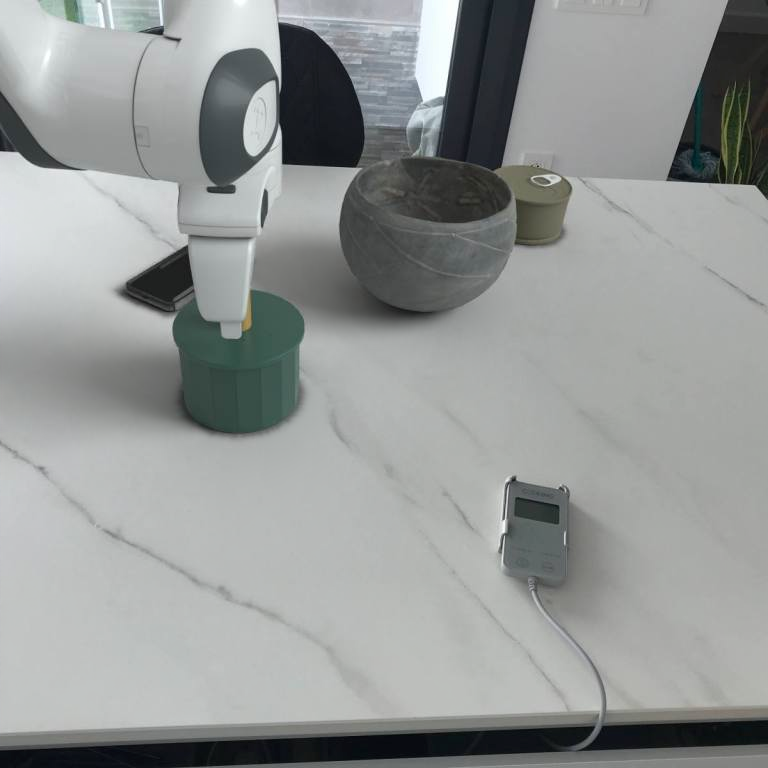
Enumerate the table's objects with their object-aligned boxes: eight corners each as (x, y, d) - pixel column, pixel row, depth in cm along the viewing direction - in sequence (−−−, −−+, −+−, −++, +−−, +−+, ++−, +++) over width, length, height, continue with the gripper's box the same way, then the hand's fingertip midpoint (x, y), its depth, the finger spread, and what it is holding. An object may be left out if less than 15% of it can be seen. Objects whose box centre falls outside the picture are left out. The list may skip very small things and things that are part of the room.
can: (465, 216, 117) (472, 173, 112) (525, 200, 122) (534, 159, 118) (517, 253, 109) (527, 208, 105) (578, 234, 115) (590, 192, 111)
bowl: (528, 289, 102) (552, 183, 93) (446, 365, 88) (465, 250, 79) (396, 236, 111) (406, 134, 101) (303, 298, 97) (304, 187, 87)
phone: (249, 253, 101) (171, 305, 91) (249, 260, 102) (172, 313, 92) (202, 235, 104) (120, 284, 94) (202, 242, 105) (122, 291, 94)
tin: (285, 440, 77) (285, 374, 72) (169, 424, 78) (160, 358, 72) (307, 367, 86) (308, 304, 81) (203, 354, 87) (197, 290, 81)
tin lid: (290, 383, 72) (290, 338, 68) (154, 365, 72) (148, 320, 69) (314, 306, 82) (316, 264, 78) (195, 291, 82) (191, 248, 79)
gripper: (207, 120, 73) (216, 248, 82) (172, 226, 58) (188, 369, 67) (274, 124, 74) (276, 251, 83) (258, 230, 58) (262, 372, 67)
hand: (237, 305), depth 75 cm, fingers open, 8 cm apart
